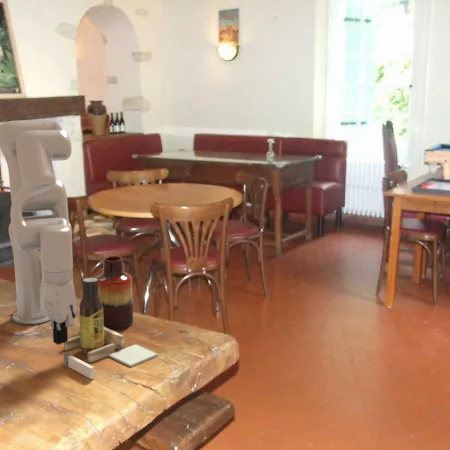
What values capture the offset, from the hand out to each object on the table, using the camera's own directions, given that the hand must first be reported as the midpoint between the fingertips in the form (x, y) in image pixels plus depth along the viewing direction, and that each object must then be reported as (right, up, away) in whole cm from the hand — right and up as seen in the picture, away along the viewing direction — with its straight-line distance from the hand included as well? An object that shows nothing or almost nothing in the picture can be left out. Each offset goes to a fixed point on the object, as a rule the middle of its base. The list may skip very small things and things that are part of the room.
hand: (60, 342), depth 153 cm
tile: (+18, -5, +5) cm, 19 cm away
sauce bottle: (+6, -4, +8) cm, 11 cm away
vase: (+9, 0, +27) cm, 28 cm away
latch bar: (+6, -6, -5) cm, 10 cm away
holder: (+6, -4, +8) cm, 11 cm away
